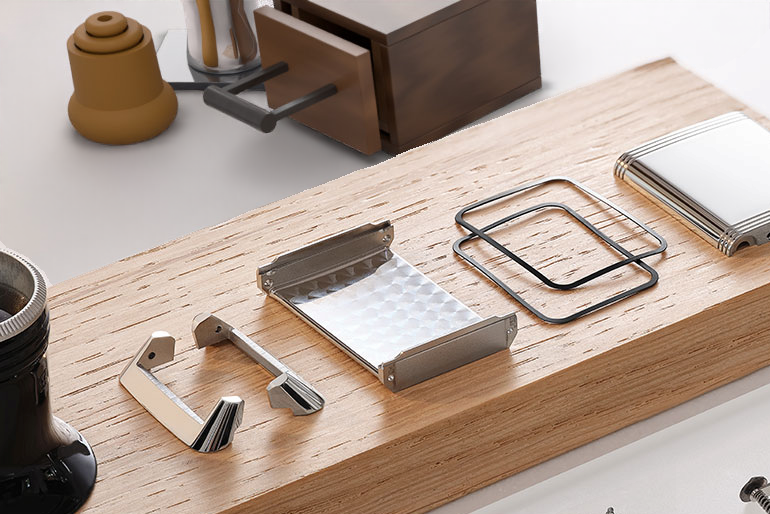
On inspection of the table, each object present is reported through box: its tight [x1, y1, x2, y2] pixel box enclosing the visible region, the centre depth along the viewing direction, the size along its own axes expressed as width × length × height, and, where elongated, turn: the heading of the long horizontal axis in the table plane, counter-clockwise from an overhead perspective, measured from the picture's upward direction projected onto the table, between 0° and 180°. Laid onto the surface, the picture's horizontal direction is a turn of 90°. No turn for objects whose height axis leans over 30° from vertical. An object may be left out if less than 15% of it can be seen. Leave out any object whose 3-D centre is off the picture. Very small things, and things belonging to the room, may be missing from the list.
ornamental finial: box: [66, 10, 179, 146], centre depth 145 cm, size 8×8×8 cm
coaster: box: [156, 29, 266, 91], centre depth 155 cm, size 11×8×1 cm
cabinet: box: [272, 0, 543, 157], centre depth 148 cm, size 14×12×9 cm
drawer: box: [202, 4, 390, 156], centre depth 144 cm, size 19×11×7 cm, turn 140°
